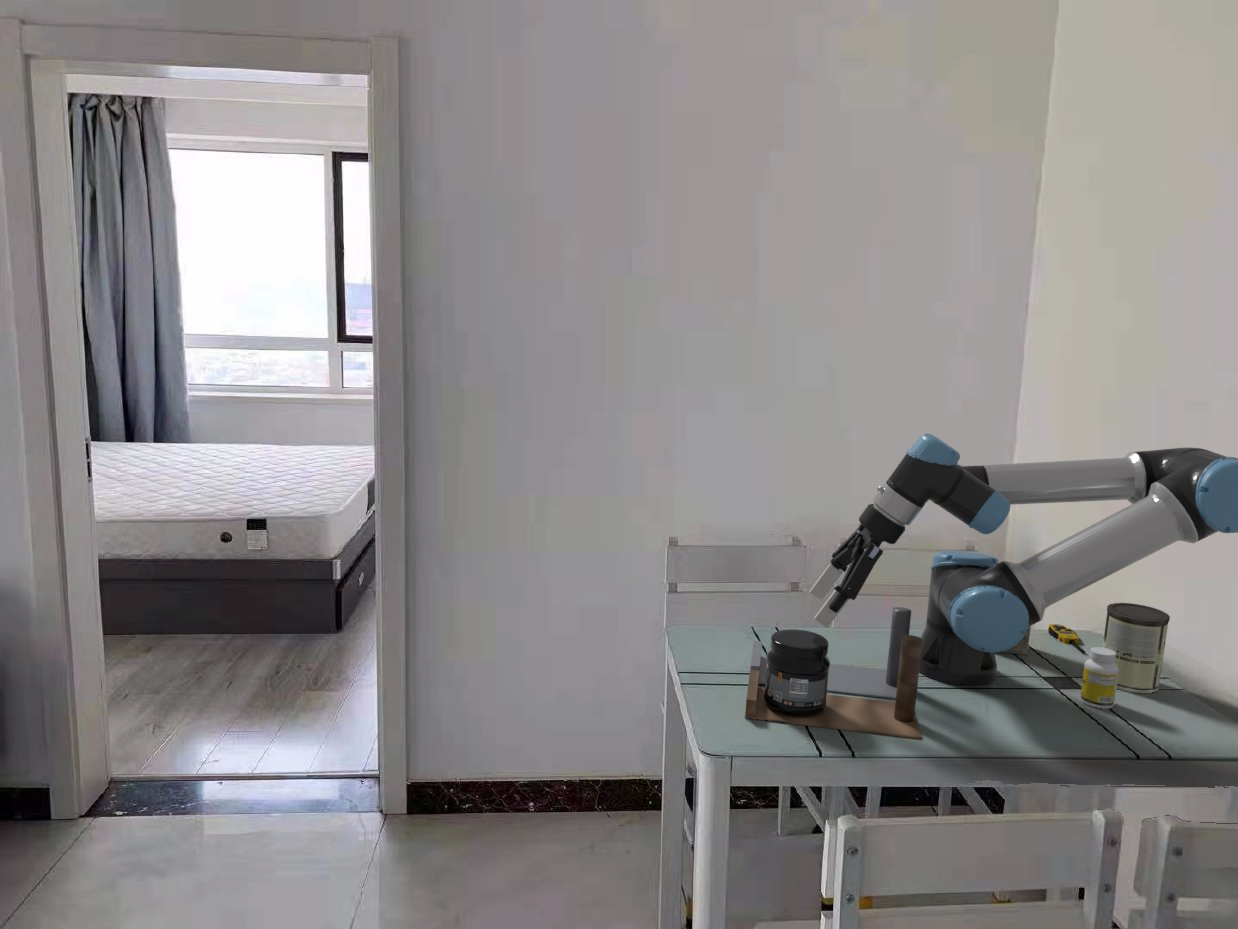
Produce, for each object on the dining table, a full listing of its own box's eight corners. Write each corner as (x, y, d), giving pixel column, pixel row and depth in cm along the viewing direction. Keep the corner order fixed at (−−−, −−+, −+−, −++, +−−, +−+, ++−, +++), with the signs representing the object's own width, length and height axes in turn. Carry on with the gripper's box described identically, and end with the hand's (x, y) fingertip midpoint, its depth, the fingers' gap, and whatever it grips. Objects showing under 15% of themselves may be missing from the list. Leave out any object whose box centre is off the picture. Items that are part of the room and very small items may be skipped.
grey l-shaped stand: (902, 672, 177) (909, 600, 175) (910, 700, 165) (918, 622, 162) (752, 656, 182) (757, 585, 180) (749, 683, 170) (754, 607, 167)
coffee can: (1088, 670, 183) (1098, 600, 181) (1144, 674, 182) (1154, 604, 180) (1110, 691, 173) (1121, 618, 170) (1169, 696, 172) (1180, 622, 170)
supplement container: (797, 689, 167) (802, 624, 165) (839, 712, 158) (845, 644, 156) (750, 699, 162) (755, 633, 160) (790, 724, 153) (796, 654, 151)
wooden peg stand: (911, 705, 163) (919, 626, 160) (921, 739, 150) (930, 654, 148) (749, 687, 168) (754, 610, 165) (745, 718, 155) (750, 635, 153)
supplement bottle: (1086, 694, 171) (1093, 643, 169) (1118, 704, 167) (1125, 652, 166) (1075, 702, 167) (1082, 650, 166) (1107, 712, 164) (1114, 659, 162)
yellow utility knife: (1066, 623, 206) (1097, 647, 191) (1065, 631, 206) (1096, 656, 191) (1043, 621, 206) (1073, 646, 191) (1042, 630, 206) (1071, 655, 191)
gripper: (862, 486, 176) (797, 574, 181) (880, 522, 152) (804, 623, 157) (896, 507, 176) (830, 596, 181) (919, 547, 152) (841, 648, 157)
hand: (817, 609), depth 169 cm, fingers open, 13 cm apart
